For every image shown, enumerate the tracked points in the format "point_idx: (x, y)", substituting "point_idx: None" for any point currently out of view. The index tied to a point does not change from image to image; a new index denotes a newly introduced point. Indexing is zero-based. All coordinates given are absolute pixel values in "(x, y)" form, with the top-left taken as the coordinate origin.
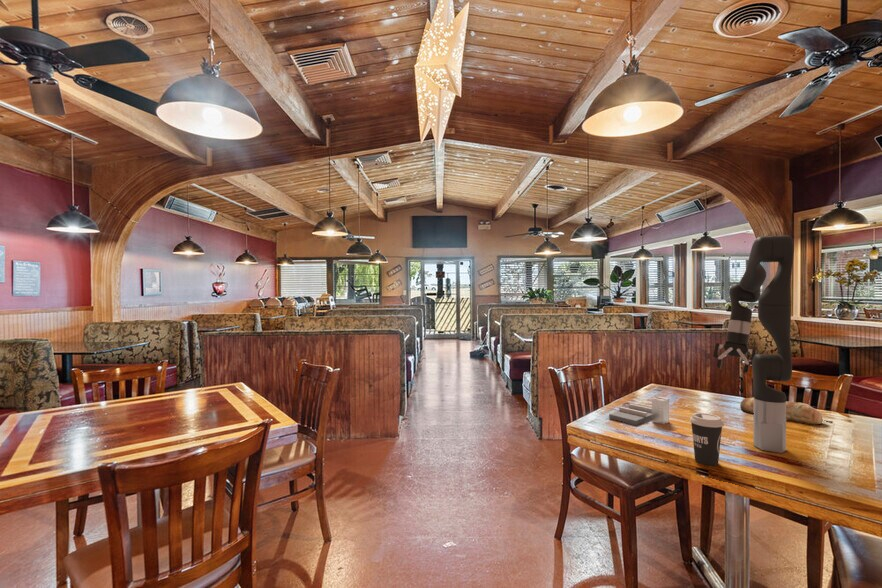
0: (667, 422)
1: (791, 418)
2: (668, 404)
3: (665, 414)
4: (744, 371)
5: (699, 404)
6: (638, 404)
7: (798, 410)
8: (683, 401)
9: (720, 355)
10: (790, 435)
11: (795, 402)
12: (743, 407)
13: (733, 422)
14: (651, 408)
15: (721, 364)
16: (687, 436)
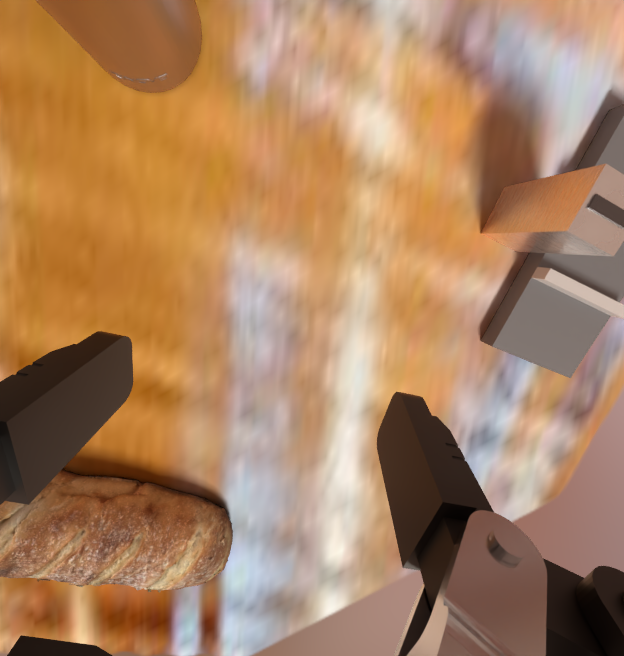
0: (489, 218)
1: (69, 477)
2: (545, 223)
3: (527, 196)
4: (96, 342)
5: (355, 519)
6: (572, 369)
7: (16, 503)
8: None
9: (540, 632)
10: (72, 271)
11: (16, 571)
12: (222, 517)
13: (262, 349)
14: (560, 282)
15: (392, 479)
16: (441, 41)
